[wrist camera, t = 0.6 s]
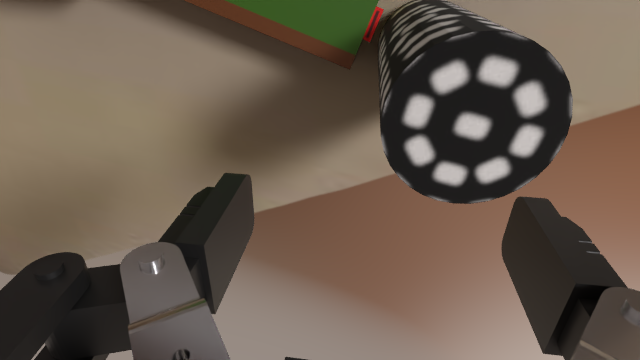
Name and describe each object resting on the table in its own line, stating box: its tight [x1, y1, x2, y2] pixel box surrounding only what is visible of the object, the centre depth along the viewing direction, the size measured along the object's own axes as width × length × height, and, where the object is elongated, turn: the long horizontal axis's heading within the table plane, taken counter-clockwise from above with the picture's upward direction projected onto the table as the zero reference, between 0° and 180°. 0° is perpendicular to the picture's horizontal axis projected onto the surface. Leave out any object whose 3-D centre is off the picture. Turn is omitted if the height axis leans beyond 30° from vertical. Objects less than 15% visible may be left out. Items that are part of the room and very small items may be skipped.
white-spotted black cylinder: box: [378, 0, 573, 204], centre depth 26 cm, size 8×8×20 cm
